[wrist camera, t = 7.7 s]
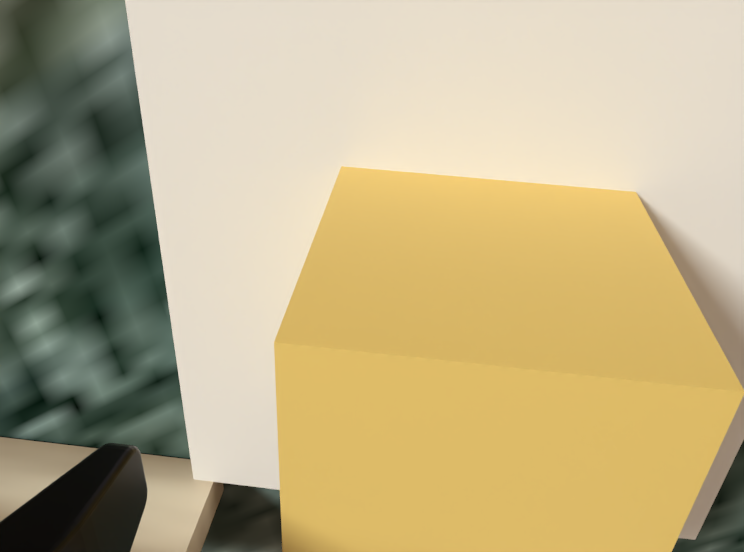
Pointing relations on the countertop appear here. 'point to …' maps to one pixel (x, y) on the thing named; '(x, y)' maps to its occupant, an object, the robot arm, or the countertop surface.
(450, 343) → the block
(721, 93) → the mat
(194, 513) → the bracket
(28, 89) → the countertop surface
